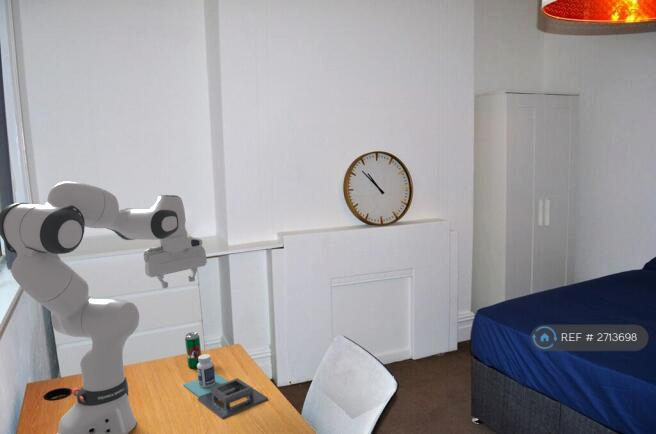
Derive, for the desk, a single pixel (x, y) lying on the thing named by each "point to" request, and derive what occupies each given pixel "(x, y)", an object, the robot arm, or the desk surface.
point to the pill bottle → (205, 371)
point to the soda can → (193, 349)
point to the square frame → (231, 398)
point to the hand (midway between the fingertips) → (178, 284)
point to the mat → (203, 391)
